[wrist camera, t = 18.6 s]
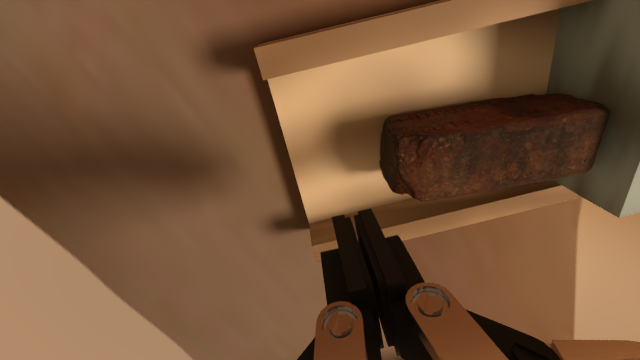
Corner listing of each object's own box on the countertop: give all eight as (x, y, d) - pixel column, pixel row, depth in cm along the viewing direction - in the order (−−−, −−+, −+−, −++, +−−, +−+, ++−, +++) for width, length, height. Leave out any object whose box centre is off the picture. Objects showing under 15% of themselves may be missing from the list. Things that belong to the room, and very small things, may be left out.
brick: (542, 86, 18) (620, 103, 14) (529, 145, 20) (593, 176, 16) (374, 115, 17) (402, 142, 13) (377, 172, 19) (402, 211, 15)
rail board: (536, 173, 22) (635, 231, 16) (311, 228, 22) (323, 307, 16) (572, -32, 16) (762, -71, 10) (259, 44, 16) (244, 55, 10)
